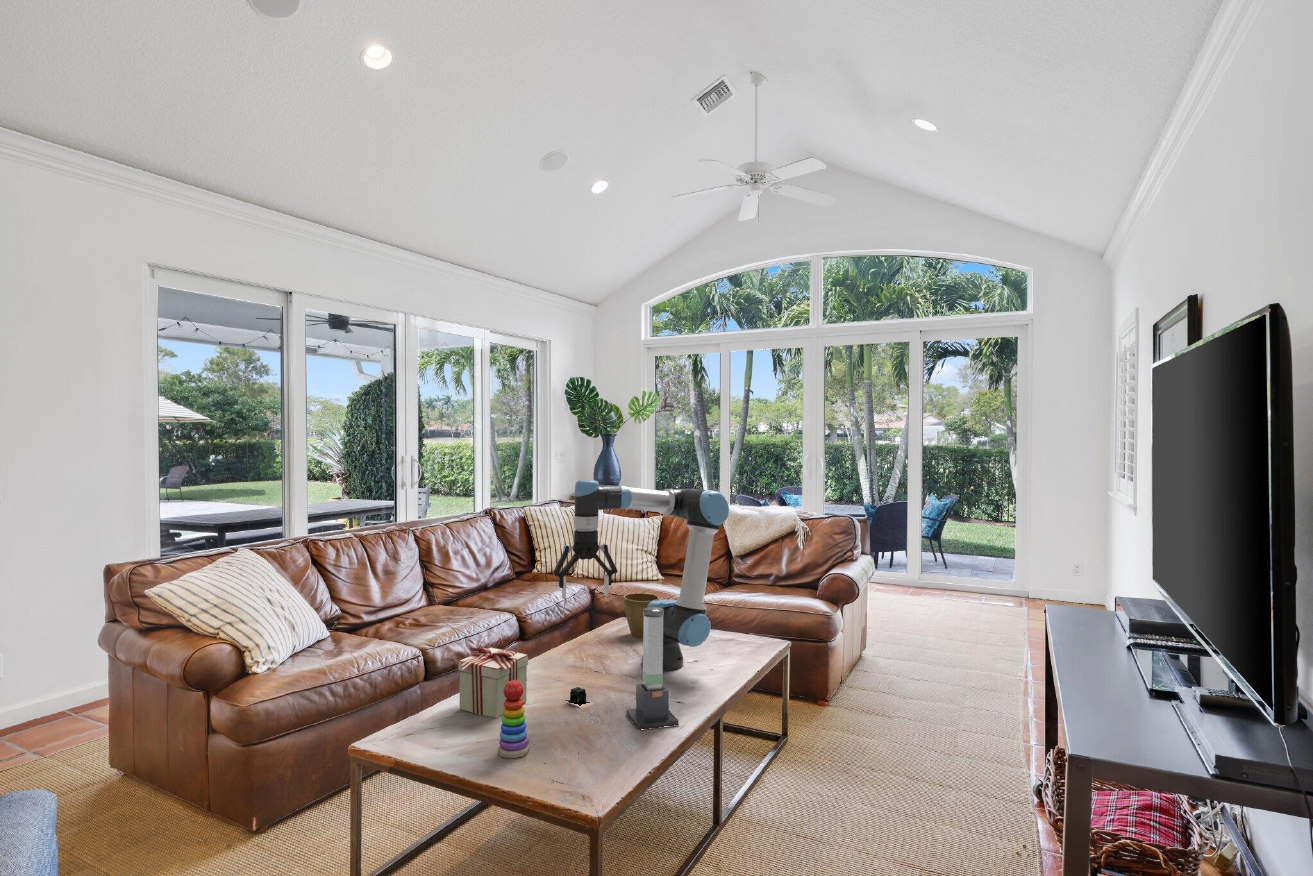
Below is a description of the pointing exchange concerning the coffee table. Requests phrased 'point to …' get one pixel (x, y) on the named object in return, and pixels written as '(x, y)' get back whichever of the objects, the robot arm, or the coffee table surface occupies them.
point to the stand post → (653, 649)
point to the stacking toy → (513, 723)
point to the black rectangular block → (578, 696)
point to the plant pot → (637, 611)
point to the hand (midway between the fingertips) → (585, 597)
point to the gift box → (490, 679)
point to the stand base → (651, 709)
